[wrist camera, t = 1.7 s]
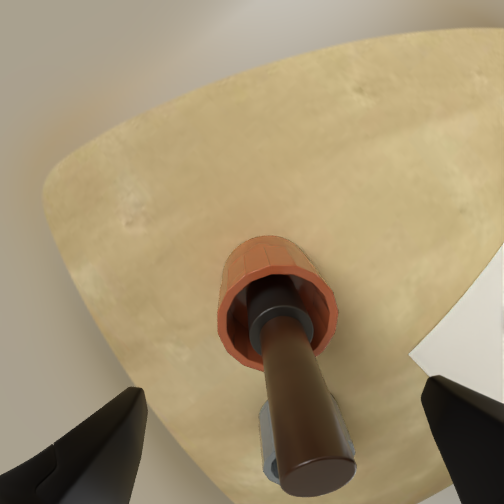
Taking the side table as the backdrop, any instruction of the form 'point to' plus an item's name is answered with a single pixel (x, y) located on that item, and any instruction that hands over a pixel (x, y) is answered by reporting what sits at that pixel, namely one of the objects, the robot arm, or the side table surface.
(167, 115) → the side table surface
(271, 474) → the cup
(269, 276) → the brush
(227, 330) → the holder
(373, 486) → the side table surface
